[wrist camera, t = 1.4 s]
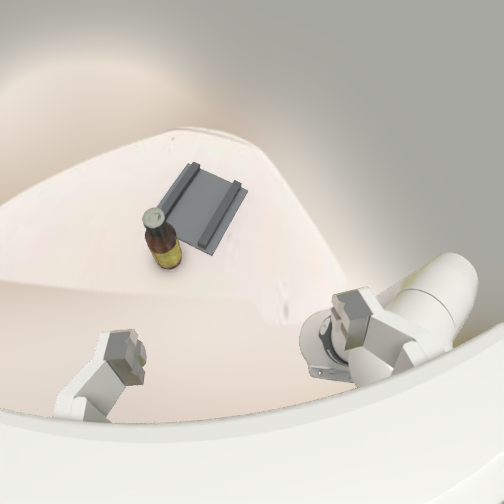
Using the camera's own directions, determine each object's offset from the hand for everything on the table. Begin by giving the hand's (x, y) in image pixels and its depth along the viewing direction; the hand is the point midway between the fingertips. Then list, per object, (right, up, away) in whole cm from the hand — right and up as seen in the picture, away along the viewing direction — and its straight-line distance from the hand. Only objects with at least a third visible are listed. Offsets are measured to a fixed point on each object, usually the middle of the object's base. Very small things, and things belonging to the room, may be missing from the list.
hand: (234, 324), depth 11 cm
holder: (-13, +14, +59) cm, 62 cm away
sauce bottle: (-19, +2, +54) cm, 57 cm away
